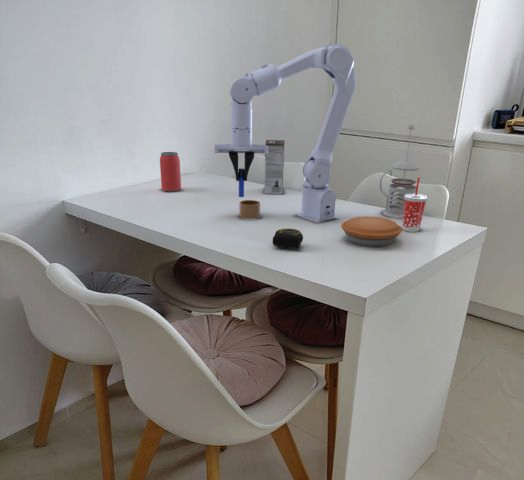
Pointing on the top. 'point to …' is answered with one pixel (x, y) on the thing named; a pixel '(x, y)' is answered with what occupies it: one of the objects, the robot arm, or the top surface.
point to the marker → (241, 182)
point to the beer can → (170, 171)
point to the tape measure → (288, 238)
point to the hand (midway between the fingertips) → (241, 180)
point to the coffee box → (274, 167)
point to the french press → (398, 207)
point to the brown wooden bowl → (249, 209)
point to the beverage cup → (413, 210)
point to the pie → (371, 231)
